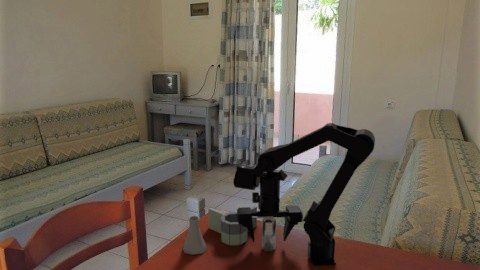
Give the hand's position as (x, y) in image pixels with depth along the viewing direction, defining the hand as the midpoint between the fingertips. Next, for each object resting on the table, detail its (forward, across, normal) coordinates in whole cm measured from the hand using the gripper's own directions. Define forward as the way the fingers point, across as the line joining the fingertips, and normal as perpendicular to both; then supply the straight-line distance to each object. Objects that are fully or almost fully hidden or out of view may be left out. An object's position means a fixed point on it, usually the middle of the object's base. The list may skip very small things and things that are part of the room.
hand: (268, 241), depth 105 cm
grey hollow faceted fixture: (+2, +8, -8) cm, 12 cm away
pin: (+2, 0, 0) cm, 2 cm away
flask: (+2, +22, -1) cm, 22 cm away
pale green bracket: (+2, +12, -8) cm, 15 cm away
